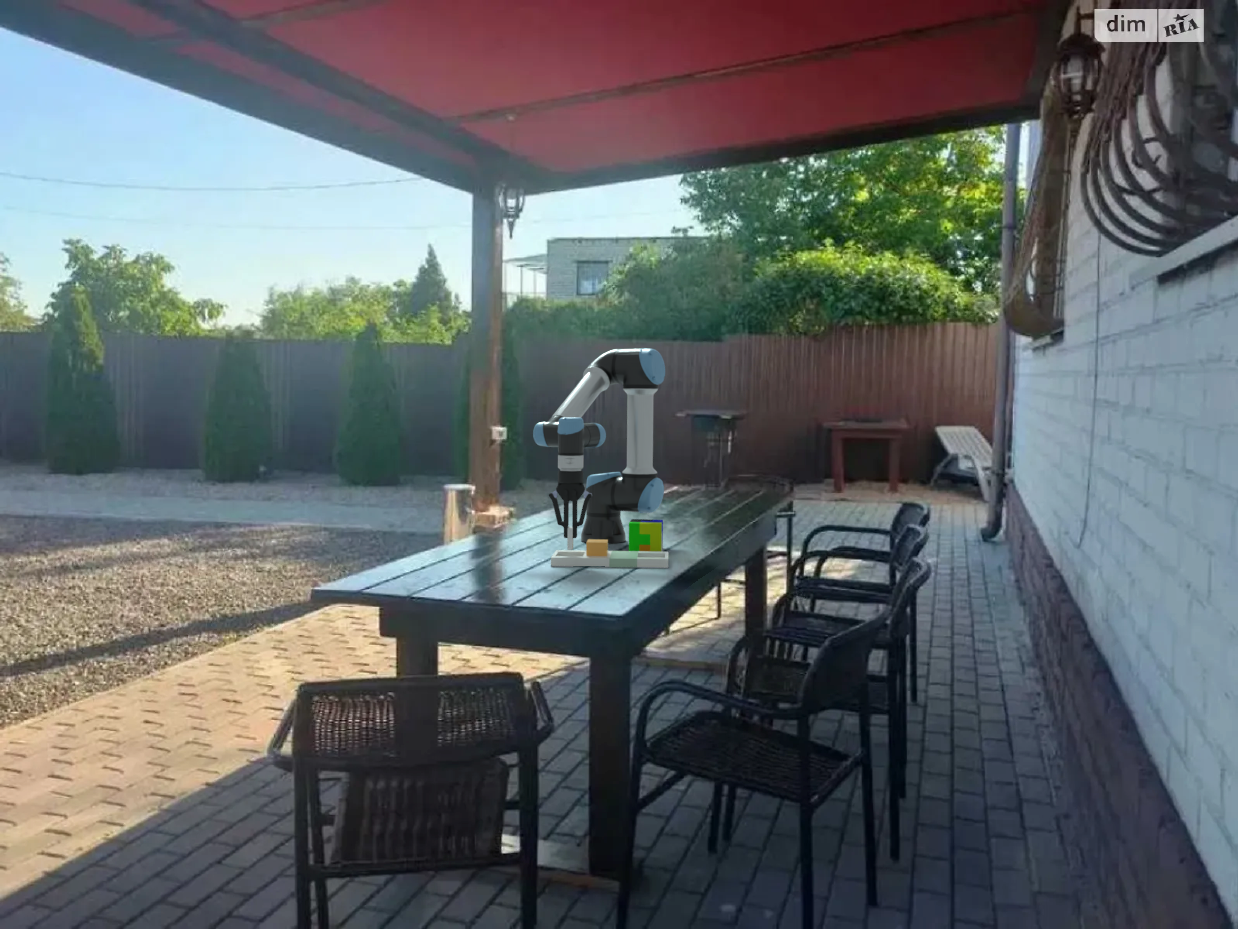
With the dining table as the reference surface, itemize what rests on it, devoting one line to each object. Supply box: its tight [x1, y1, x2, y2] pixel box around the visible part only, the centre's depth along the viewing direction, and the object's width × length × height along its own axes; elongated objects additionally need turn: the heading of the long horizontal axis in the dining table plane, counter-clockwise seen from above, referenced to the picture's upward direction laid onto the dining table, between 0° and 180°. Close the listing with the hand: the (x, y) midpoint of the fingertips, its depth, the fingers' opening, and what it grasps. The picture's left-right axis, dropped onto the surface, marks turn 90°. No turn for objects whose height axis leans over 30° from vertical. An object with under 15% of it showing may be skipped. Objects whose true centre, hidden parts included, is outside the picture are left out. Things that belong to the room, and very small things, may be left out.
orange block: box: [585, 539, 609, 556], centre depth 298 cm, size 6×6×4 cm
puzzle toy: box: [628, 518, 664, 552], centre depth 317 cm, size 10×10×10 cm
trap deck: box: [550, 549, 669, 569], centre depth 298 cm, size 14×34×2 cm, turn 87°
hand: (570, 549), depth 299 cm, fingers closed
